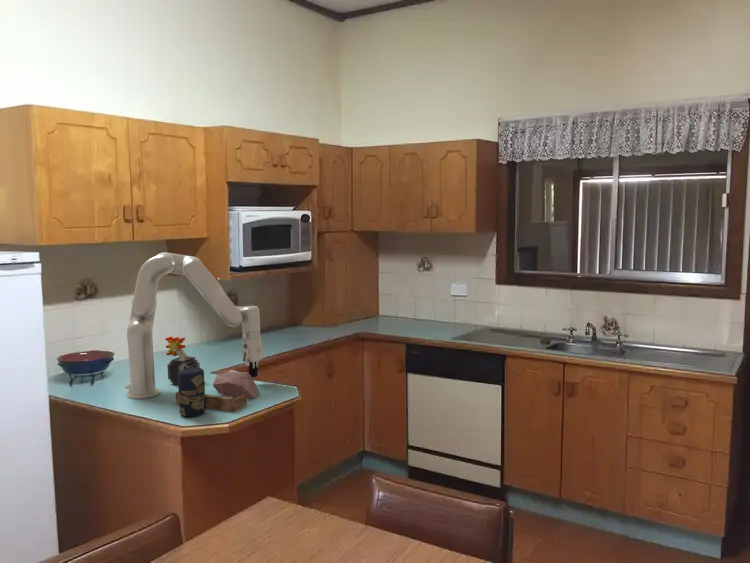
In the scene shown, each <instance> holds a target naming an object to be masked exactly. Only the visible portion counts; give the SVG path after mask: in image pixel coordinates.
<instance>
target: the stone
mask: <svg viewBox="0 0 750 563" xmlns="http://www.w3.org/2000/svg"><path fill="white" fill-rule="evenodd" d="M212 386H213V389H215V390H216V391H217V393H218V394H222V395H224V396H225V395H226V396H225V397H230V396H232V397H233V398H237V397H239V396H241V395H243V394H247V399H255V398H256V397H257V396H258V395H259V388H258V386H257V384H256V383H255V381H254V379H253V377H251V375H250V374H249V371H238V370H235V369H230V370H228V371H224V372H219V373H217V374H216V375H215V378H214V380H213V382H212Z"/></svg>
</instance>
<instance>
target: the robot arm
mask: <svg viewBox="0 0 750 563" xmlns="http://www.w3.org/2000/svg"><path fill="white" fill-rule="evenodd" d="M169 274H175V275H182V276H185V277H186V278H187V279H188V280H189V282H190V283H191V284H192V285H193V286H194V287H195V289H196V290H197V291H198V292H199V294H200V295H201V296H202V297H203V299H204V300H205V301H206V302H207V303H208V304H209V305H210V306H211V307H212V308H213V310H214V311H215V312H216V313H217V315H218V316H219V317H220V318H221V319H222V321H223V322H224V323H225V324H226V325H227V326H228V327H231V328H235V327H238V326H240V325H241V328H242V330H241V331H242V334H241V335H242V343H241V344H242V348H241V351H242V354H241V355H242V361H243V362H244V366H245V367H246V366H247V368H248V373H249V374H250V375H251V377H252V378H256V377H258V367H259V362H260V361H261V360H262V359H263V358H264V347H263V346H264V345H263V339H262V336H261V321H260V320H261V319H260V318H261V317H260V308H259V307H258V306H256V305H247V306H238V305H237V306H236V305H235V304H234V302H233V301H232V300H231V299H230V298H229V296H228V295H227V294H226V292H225V290H224V289H223V287H222V285H221V284H220V283H219V281H217V279H216V278H215V277H214V275H213V274H212V273H211V271H209V269H208V268H207V267H206V266H205V264H203V262H202V261H201V260H200V258H199V257H197V256H192V255H185V254H179V253H174V252H173V253H171V252H167V251H165V252H159V253H158V254H156V255H155V256H153V257H151V258H149V259H147V260H146V261H145V262H143V264H142V265H141V266H140V269H139V270H138V273H137V277H136V281H135V282H136V283H135V288H134V294H133V298H132V301H131V310H130V317H129V324H128V327H127V331H126V337H127V338H126V339H127V348H128V349H127V350H128V359H129V360H128V361H129V363H128V364H129V376H130V377H129V379H130V381H129V382H127V383H126V384H125V385H124V389H126V390H127V389H128V392H127V393H126V396H127V398H130V399H136V400H137V399H138V400H140V399H147V398H149V399H150V398H153V397H156V396H158V395H159V394H160V389H159V388H156V376H155V375H156V374H155V356H154V342H153V328H154V322H155V321H154V320H155V314H156V310H157V309H156V308H157V302H158V301H157V294H158V289H159V288H158V287H159V282H160V279H161V278H162V277H163V276H165V275H169Z"/></svg>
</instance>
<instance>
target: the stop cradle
mask: <svg viewBox="0 0 750 563" xmlns="http://www.w3.org/2000/svg"><path fill="white" fill-rule="evenodd" d="M178 393H179V391H176V392H175V405H176V406H179V396H178ZM247 405H248V398H247V394H243V395H241V396H239V397H230V396H225V395H224V396H223V395H213V394H206V393H205V406H206V410H211V409H212V410H214V411H219V410H220V412H229V413H234V412H235V411H238V410H239V409H241V408H244V407H245V406H247Z"/></svg>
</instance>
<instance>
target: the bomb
mask: <svg viewBox="0 0 750 563" xmlns="http://www.w3.org/2000/svg"><path fill="white" fill-rule="evenodd" d="M185 340H186V337H178V336H176V337H173V336H167V337H165V341H167V344H166V345H165V348H166V349H169V350H167V352H166V354H165V355H166V356H167V357H168V356H171V355H172V357H177V356H178V357H177V358H173V359H171V360H170V361H169V363H167V364H166V366H167V380H169V381H170V383H172V386H178V371H180V370H181V369H185V368H187V367H193V368H201V365H200V363H201V362H198V359H196V357H195V356H189V355H187V353H186V352H184V349H185V348H186V345H185V344H183V343H184V341H185Z"/></svg>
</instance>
